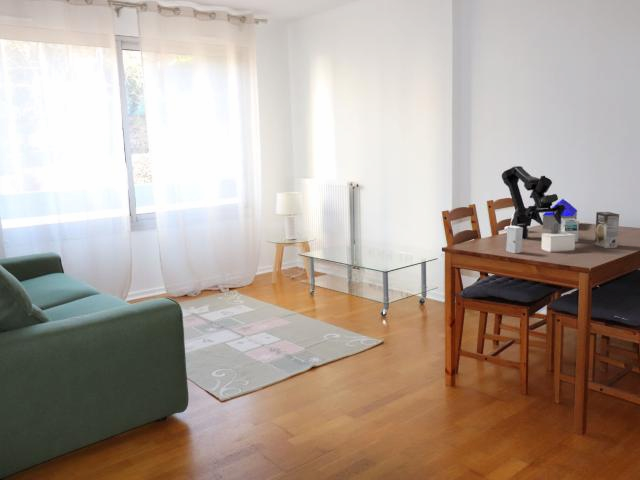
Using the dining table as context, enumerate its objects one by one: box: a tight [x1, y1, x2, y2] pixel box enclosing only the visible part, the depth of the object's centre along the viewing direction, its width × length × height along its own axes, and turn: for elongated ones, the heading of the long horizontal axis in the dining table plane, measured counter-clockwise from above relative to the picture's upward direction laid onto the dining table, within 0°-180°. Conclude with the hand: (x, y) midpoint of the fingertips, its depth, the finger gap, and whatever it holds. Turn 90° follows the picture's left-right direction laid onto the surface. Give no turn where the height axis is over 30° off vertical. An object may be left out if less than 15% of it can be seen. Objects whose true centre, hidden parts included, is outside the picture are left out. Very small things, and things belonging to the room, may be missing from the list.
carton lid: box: [541, 222, 576, 237], centre depth 268 cm, size 8×12×5 cm
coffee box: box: [594, 211, 620, 249], centre depth 273 cm, size 9×6×16 cm
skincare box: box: [505, 225, 523, 254], centre depth 267 cm, size 6×4×12 cm
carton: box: [540, 235, 576, 253], centre depth 269 cm, size 8×12×7 cm, turn 98°
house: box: [542, 198, 578, 230], centre depth 336 cm, size 25×16×16 cm, turn 150°
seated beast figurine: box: [504, 210, 515, 231], centre depth 324 cm, size 10×9×12 cm
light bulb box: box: [560, 218, 580, 243], centre depth 291 cm, size 11×7×11 cm, turn 168°
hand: (551, 224), depth 274 cm, fingers open, 9 cm apart
